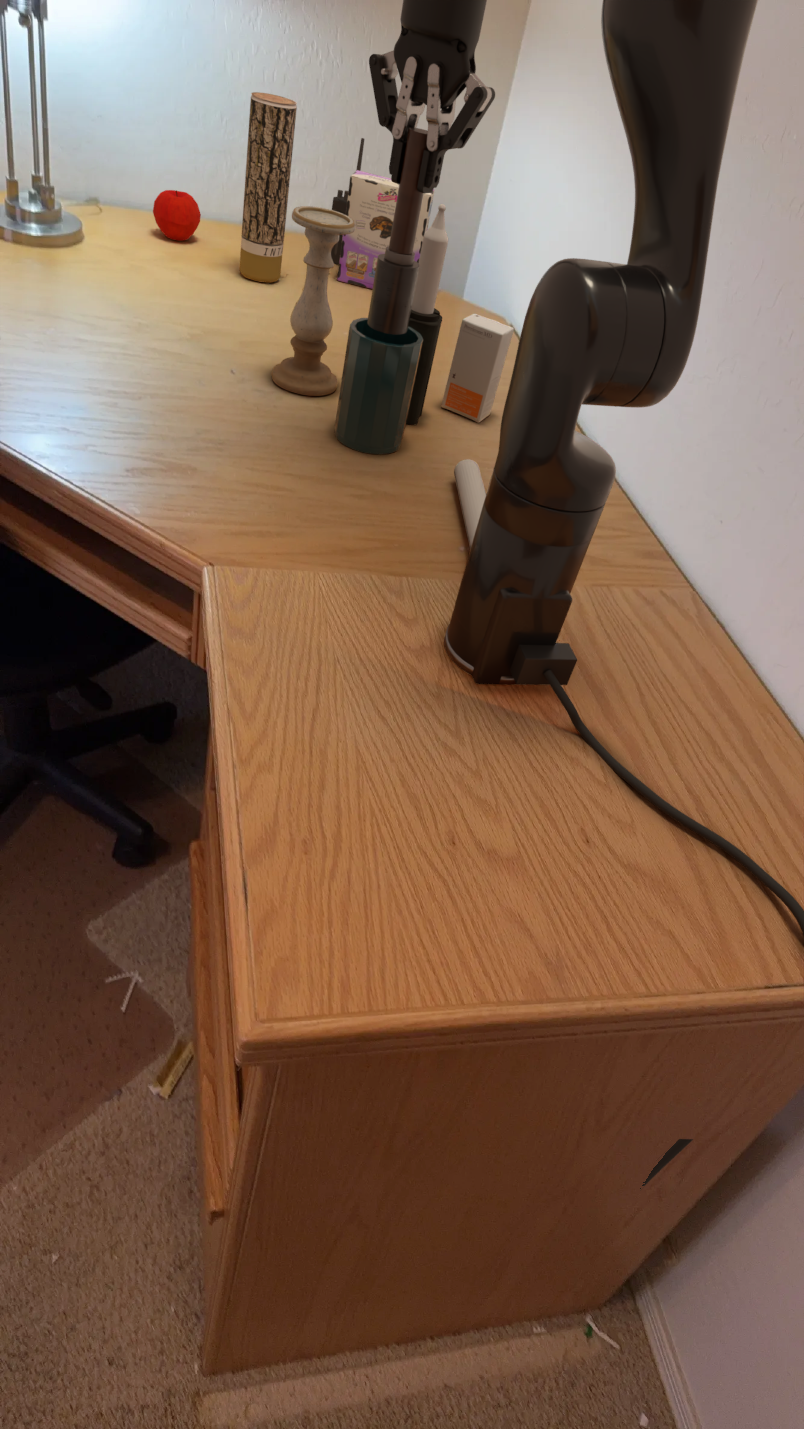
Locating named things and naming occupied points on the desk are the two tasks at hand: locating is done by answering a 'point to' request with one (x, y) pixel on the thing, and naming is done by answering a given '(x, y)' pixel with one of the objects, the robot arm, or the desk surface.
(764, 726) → the desk surface
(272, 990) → the desk surface
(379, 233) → the candy box
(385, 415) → the teal pencil cup
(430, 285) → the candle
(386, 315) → the brush
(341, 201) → the walkie-talkie
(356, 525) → the desk surface
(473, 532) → the tube
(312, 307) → the candle holder
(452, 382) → the cosmetic box
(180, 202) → the apple
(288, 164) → the paper tube
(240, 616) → the desk surface
